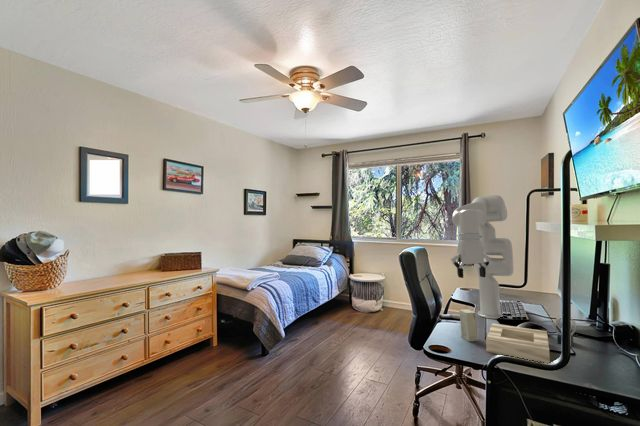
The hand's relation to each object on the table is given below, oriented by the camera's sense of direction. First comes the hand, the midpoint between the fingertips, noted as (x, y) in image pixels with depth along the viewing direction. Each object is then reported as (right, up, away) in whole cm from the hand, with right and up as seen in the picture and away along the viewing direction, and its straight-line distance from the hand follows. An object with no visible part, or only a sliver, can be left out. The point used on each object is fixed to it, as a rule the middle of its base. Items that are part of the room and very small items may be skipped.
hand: (471, 277), depth 130 cm
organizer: (+15, -27, -8) cm, 32 cm away
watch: (+37, -27, -5) cm, 46 cm away
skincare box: (0, -28, +3) cm, 28 cm away
